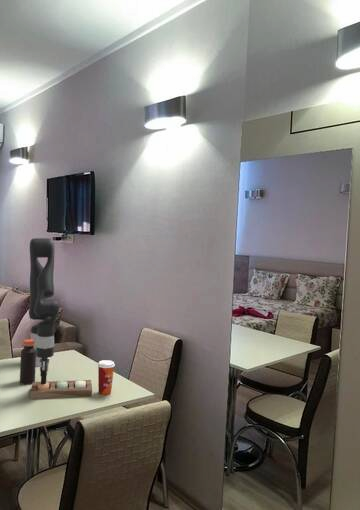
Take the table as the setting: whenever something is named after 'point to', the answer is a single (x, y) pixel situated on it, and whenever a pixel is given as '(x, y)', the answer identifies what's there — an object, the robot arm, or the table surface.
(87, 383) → the button board
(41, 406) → the table surface
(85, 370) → the table surface
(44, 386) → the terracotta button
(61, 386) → the sage button
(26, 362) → the bottle
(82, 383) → the cream button
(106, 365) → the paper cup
